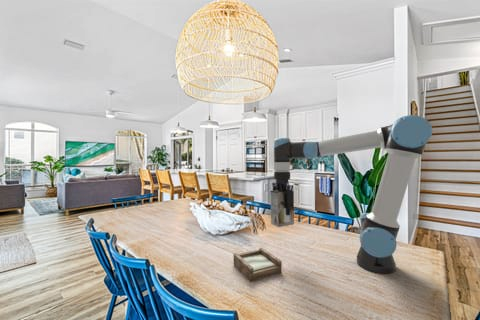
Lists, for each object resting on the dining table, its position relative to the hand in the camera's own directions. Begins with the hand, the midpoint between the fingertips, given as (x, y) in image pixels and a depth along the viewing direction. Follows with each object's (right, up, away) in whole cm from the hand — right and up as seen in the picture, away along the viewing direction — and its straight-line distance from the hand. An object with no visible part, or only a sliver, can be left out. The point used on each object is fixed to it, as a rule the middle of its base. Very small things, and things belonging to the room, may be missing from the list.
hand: (282, 219), depth 110 cm
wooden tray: (-13, -19, -8) cm, 25 cm away
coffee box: (0, -2, 0) cm, 2 cm away
